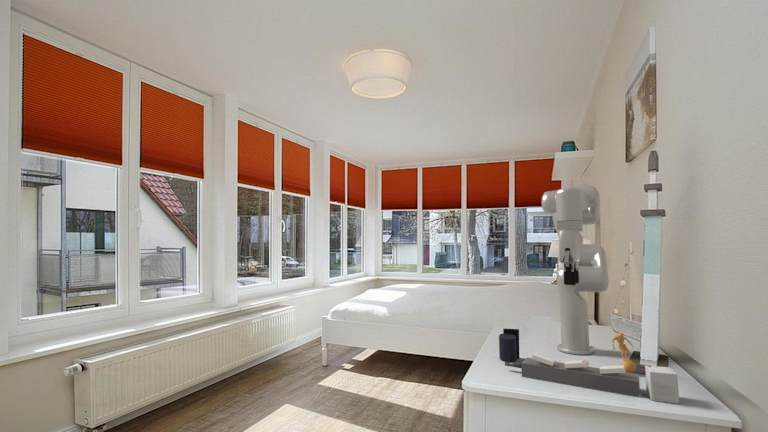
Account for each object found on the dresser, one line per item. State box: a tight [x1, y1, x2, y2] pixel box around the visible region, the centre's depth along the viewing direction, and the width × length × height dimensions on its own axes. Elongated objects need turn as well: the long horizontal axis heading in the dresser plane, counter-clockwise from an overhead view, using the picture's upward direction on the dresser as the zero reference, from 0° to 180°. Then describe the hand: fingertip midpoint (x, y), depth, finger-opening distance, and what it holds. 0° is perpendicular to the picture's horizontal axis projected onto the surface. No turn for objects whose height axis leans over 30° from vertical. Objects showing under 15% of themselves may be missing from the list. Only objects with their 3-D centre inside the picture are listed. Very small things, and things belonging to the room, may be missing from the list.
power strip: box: [504, 357, 641, 398], centre depth 117 cm, size 7×36×4 cm, turn 56°
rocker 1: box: [531, 352, 556, 366], centre depth 119 cm, size 3×6×1 cm, turn 56°
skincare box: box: [644, 365, 680, 404], centre depth 103 cm, size 6×6×7 cm
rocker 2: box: [563, 359, 590, 368], centre depth 114 cm, size 3×6×1 cm, turn 56°
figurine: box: [611, 332, 637, 373], centre depth 124 cm, size 8×6×12 cm
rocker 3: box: [599, 364, 626, 374], centre depth 109 cm, size 3×6×1 cm, turn 56°
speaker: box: [498, 328, 520, 363], centre depth 138 cm, size 8×6×10 cm
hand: (571, 283), depth 125 cm, fingers open, 6 cm apart
